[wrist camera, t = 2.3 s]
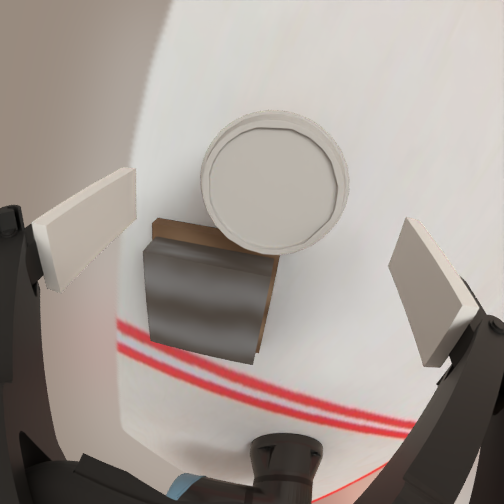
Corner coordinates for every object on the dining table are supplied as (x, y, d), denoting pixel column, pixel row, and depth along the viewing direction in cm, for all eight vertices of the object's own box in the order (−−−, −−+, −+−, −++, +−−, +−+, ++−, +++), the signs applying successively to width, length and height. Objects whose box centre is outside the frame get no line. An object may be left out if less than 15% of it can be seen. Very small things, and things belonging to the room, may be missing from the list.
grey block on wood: (260, 345, 41) (255, 373, 36) (161, 323, 42) (148, 347, 37) (282, 240, 33) (279, 264, 29) (157, 217, 34) (137, 237, 29)
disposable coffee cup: (252, 211, 32) (228, 275, 21) (219, 124, 28) (171, 144, 18) (343, 186, 29) (366, 241, 19) (314, 93, 25) (326, 90, 15)
